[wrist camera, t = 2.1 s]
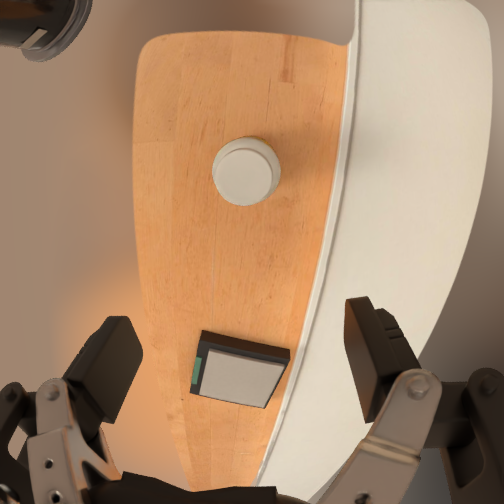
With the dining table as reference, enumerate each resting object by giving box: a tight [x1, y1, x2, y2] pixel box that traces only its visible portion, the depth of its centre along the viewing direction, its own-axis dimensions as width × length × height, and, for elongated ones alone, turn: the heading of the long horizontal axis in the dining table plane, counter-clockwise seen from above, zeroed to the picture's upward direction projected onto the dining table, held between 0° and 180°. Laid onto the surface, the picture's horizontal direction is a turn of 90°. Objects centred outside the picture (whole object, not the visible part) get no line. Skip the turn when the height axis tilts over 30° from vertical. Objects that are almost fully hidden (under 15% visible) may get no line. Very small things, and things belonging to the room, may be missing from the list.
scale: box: [190, 330, 290, 408], centre depth 38 cm, size 12×12×3 cm
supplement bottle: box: [212, 136, 281, 206], centre depth 23 cm, size 5×5×10 cm
